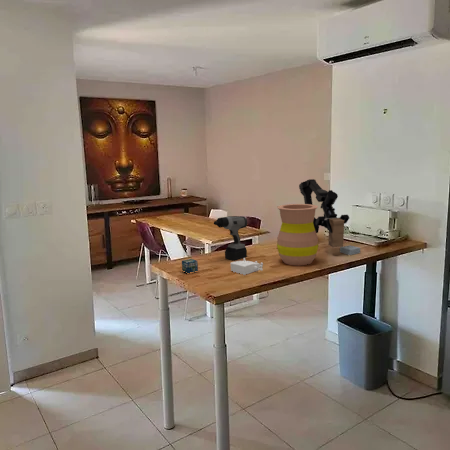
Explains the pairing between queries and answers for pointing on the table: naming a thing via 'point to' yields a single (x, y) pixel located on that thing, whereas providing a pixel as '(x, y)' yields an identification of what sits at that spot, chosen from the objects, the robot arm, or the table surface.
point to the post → (336, 232)
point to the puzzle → (189, 265)
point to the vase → (297, 234)
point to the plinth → (350, 250)
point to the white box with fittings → (245, 266)
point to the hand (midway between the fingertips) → (337, 232)
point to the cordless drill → (233, 224)
